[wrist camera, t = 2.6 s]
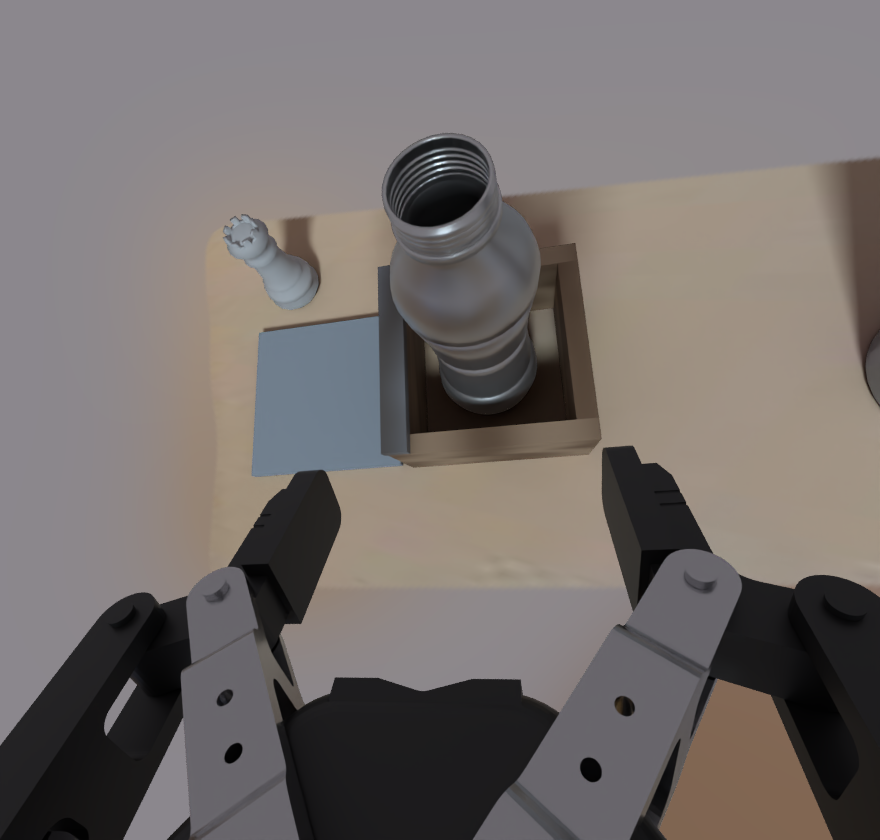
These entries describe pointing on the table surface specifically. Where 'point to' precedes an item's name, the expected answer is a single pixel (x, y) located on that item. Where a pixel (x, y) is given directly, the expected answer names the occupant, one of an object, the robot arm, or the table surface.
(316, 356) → the mat
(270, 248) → the rook chess piece
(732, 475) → the table surface
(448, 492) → the table surface
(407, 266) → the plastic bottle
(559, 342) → the holder
